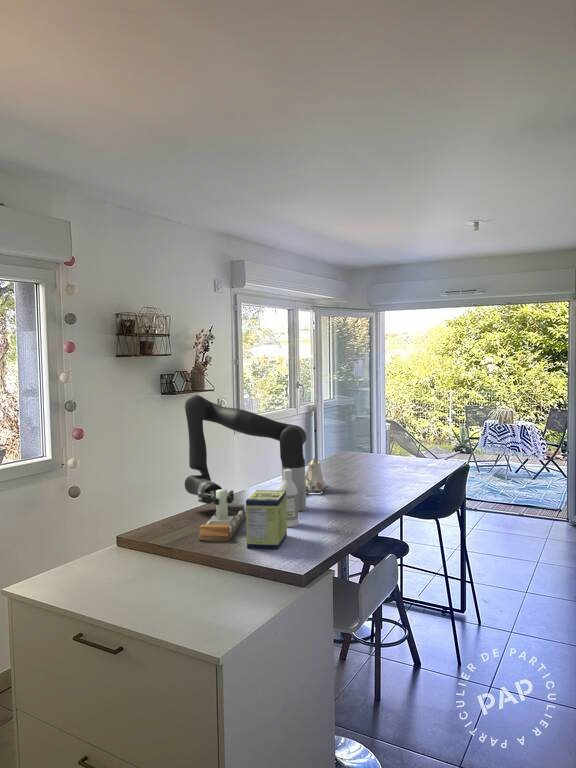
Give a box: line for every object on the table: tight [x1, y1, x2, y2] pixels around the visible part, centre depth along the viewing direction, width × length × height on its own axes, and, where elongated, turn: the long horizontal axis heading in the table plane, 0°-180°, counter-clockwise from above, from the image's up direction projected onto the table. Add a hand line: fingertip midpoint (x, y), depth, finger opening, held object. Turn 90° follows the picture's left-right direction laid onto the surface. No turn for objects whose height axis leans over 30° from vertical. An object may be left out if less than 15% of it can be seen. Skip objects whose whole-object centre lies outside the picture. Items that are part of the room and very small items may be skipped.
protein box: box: [245, 489, 288, 550], centre depth 192 cm, size 10×16×16 cm
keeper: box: [211, 488, 234, 525], centre depth 208 cm, size 6×7×12 cm
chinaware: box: [305, 456, 327, 493], centre depth 265 cm, size 28×17×17 cm, turn 154°
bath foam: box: [278, 469, 299, 528], centre depth 211 cm, size 7×7×20 cm
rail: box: [198, 504, 246, 542], centre depth 210 cm, size 32×10×4 cm, turn 174°
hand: (224, 501), depth 205 cm, fingers closed on keeper, 4 cm apart
